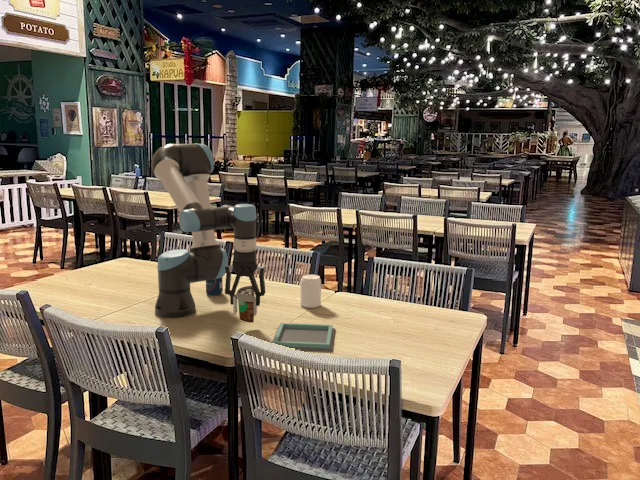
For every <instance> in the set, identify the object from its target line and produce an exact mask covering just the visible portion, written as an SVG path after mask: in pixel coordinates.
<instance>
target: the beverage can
mask: <svg viewBox="0 0 640 480" xmlns="http://www.w3.org/2000/svg"><path fill="white" fill-rule="evenodd" d="M321 301H322V279H321V277H320V275H317V274H311V273H310V274H303V275H302V276H301V278H300V306H301V307H303V308H305V309H306V308H307V309H316V308H318V307H320V306H321V303H322V302H321Z"/></svg>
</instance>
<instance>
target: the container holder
mask: <svg viewBox="0 0 640 480" xmlns="http://www.w3.org/2000/svg"><path fill="white" fill-rule="evenodd" d="M333 325H334V324H325V323H324V324H323V323H322V324H319V323H295V322H280V323H279V325H278V327H277V329H276V331H275V334H274V336H273V338H272V342H271V343H275V344H278V345H282V346H285V347H289V348H295V349H301V350H300V351H308V350H313V351H315V352H333V345H334V337H335V332H336V328H335V327H333ZM313 351H312V352H313Z"/></svg>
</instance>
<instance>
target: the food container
mask: <svg viewBox="0 0 640 480" xmlns="http://www.w3.org/2000/svg"><path fill="white" fill-rule="evenodd" d="M235 294H236V298H237V306H238V314H239V316H238V317H239V320H241V321H242V322H246V323H254V321H255V320H254V319H255V316H254V296H255V293H254V290H253V287H252V285H246V286H242V287H240V288H238V289H237V290H236V293H235Z"/></svg>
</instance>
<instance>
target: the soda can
mask: <svg viewBox="0 0 640 480" xmlns="http://www.w3.org/2000/svg"><path fill="white" fill-rule="evenodd" d="M223 288H224V286H223V277H221V278H218V279H214V280H207V281H205V291H206V292H205V293H206V294H207V295H208V296H209V297H218V296H221V295H222V293H223V290H224V289H223Z"/></svg>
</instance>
